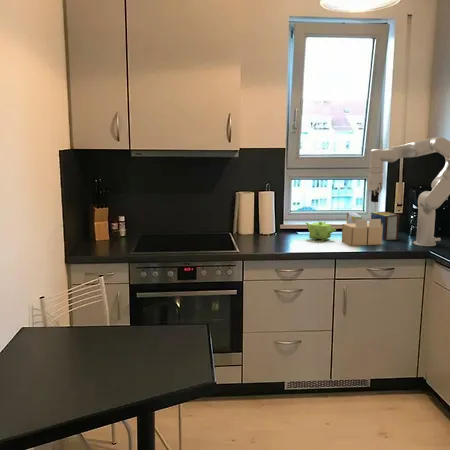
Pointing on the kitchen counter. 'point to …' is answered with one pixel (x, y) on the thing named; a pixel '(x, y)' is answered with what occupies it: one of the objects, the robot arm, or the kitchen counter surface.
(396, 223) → the protein box
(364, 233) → the flap
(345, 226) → the carton
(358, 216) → the snack box
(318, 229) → the kettle
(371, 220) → the flap
